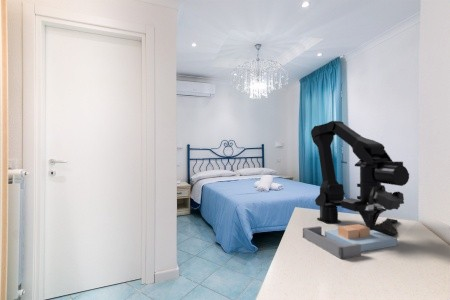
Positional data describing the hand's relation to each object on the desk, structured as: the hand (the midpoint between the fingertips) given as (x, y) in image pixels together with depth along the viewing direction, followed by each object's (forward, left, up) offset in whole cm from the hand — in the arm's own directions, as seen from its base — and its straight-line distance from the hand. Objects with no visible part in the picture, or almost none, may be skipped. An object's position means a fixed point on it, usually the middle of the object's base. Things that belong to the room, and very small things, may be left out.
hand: (370, 229), depth 74 cm
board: (0, -5, -3) cm, 6 cm away
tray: (0, -16, -3) cm, 17 cm away
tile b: (0, -9, -1) cm, 9 cm away
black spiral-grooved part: (-7, +16, -4) cm, 18 cm away
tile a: (0, -5, -1) cm, 5 cm away
